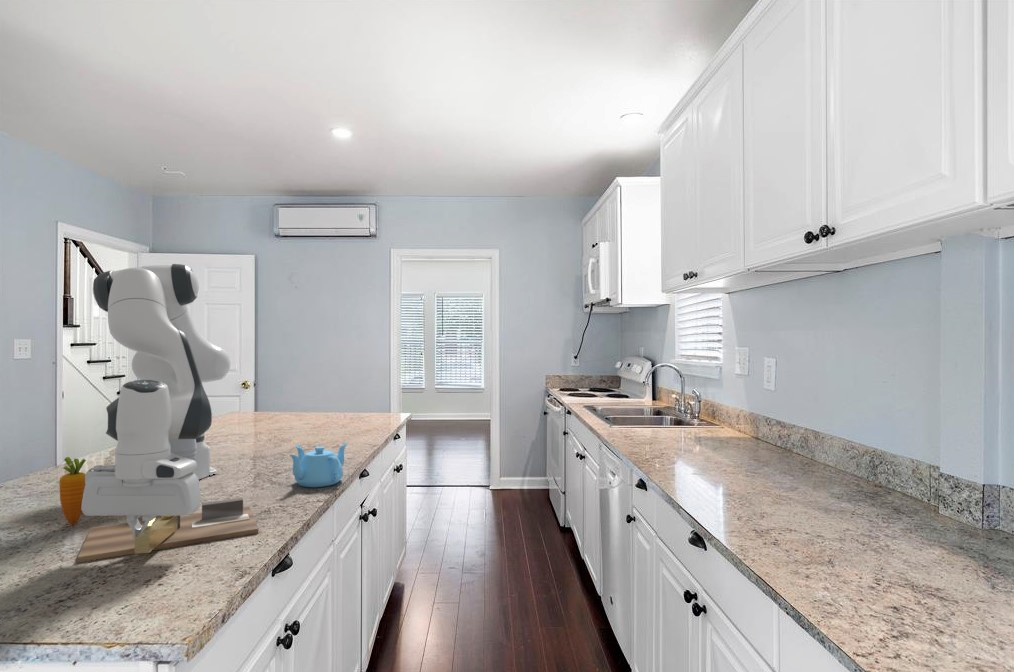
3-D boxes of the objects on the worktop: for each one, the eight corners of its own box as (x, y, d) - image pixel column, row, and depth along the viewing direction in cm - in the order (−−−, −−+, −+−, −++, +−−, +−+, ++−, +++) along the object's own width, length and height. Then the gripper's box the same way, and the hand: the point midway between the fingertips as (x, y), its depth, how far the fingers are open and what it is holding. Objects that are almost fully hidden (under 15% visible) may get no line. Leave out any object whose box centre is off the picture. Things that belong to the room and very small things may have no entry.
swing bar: (169, 523, 114) (169, 500, 114) (187, 522, 115) (188, 499, 115) (130, 553, 98) (131, 527, 98) (152, 552, 98) (153, 526, 98)
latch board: (91, 532, 113) (92, 508, 113) (249, 510, 128) (249, 489, 128) (77, 562, 97) (77, 535, 97) (258, 533, 113) (258, 509, 113)
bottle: (181, 508, 129) (182, 425, 129) (157, 506, 130) (159, 424, 130) (202, 500, 135) (203, 421, 136) (179, 498, 137) (181, 420, 137)
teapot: (342, 488, 147) (343, 451, 148) (284, 491, 145) (285, 453, 145) (347, 475, 162) (348, 441, 162) (294, 477, 159) (295, 443, 159)
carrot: (93, 523, 118) (94, 455, 118) (68, 531, 113) (69, 460, 113) (77, 520, 120) (78, 453, 120) (52, 528, 115) (53, 458, 115)
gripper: (74, 469, 99) (71, 544, 99) (188, 469, 101) (186, 543, 100) (97, 461, 105) (95, 531, 105) (205, 461, 107) (203, 531, 107)
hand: (141, 537), depth 103 cm, fingers closed
